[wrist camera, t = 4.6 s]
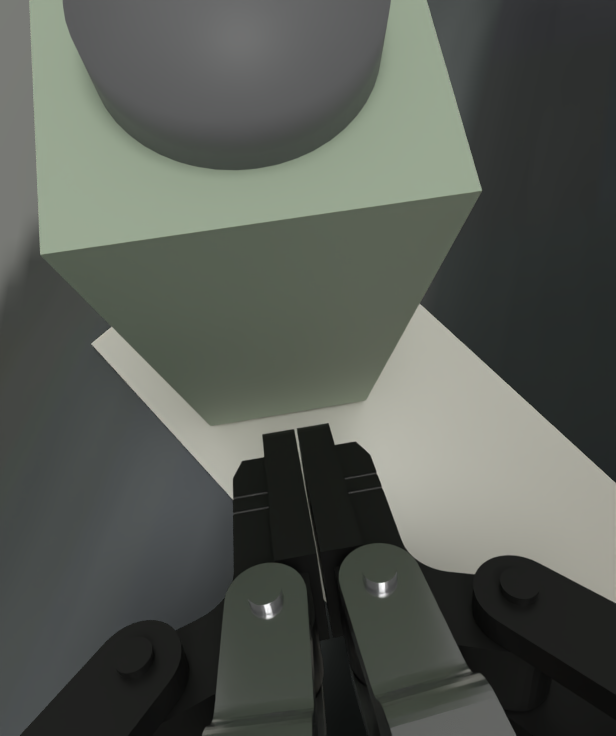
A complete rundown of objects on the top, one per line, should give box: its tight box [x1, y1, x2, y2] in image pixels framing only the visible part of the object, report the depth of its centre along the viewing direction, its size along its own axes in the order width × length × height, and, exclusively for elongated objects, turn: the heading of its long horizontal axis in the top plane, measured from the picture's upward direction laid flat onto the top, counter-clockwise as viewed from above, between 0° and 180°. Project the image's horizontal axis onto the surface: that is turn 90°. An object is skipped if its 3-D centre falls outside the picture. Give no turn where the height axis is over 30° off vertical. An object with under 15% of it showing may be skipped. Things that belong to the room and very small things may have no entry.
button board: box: [92, 304, 616, 603], centre depth 17 cm, size 28×9×1 cm, turn 44°
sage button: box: [29, 0, 482, 426], centre depth 12 cm, size 5×5×12 cm
